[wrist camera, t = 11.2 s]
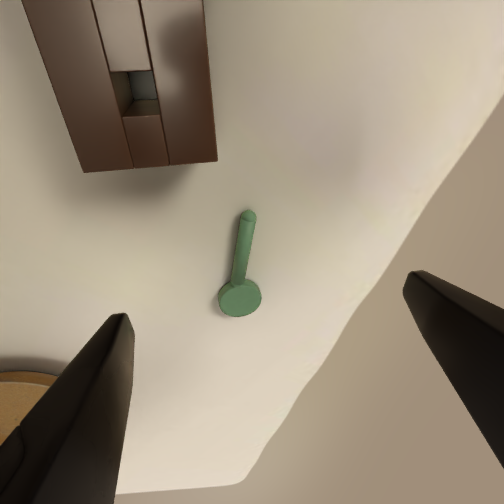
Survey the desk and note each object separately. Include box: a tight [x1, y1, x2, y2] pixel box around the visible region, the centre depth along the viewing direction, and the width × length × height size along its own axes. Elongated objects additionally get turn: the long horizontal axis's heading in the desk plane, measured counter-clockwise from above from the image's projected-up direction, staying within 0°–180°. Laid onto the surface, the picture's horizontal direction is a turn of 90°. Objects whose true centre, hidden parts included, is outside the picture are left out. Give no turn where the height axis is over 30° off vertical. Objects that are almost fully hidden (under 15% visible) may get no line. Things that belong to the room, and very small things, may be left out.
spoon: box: [218, 210, 261, 317], centre depth 24 cm, size 1×4×10 cm
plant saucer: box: [0, 371, 58, 445], centre depth 29 cm, size 15×15×3 cm
